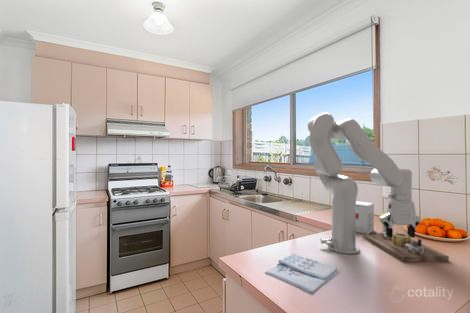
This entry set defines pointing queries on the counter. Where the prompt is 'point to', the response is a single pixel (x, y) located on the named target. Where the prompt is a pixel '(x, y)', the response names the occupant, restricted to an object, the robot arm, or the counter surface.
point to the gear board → (406, 249)
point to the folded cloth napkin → (313, 270)
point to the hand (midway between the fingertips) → (400, 236)
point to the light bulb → (382, 223)
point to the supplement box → (364, 217)
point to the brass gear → (400, 239)
